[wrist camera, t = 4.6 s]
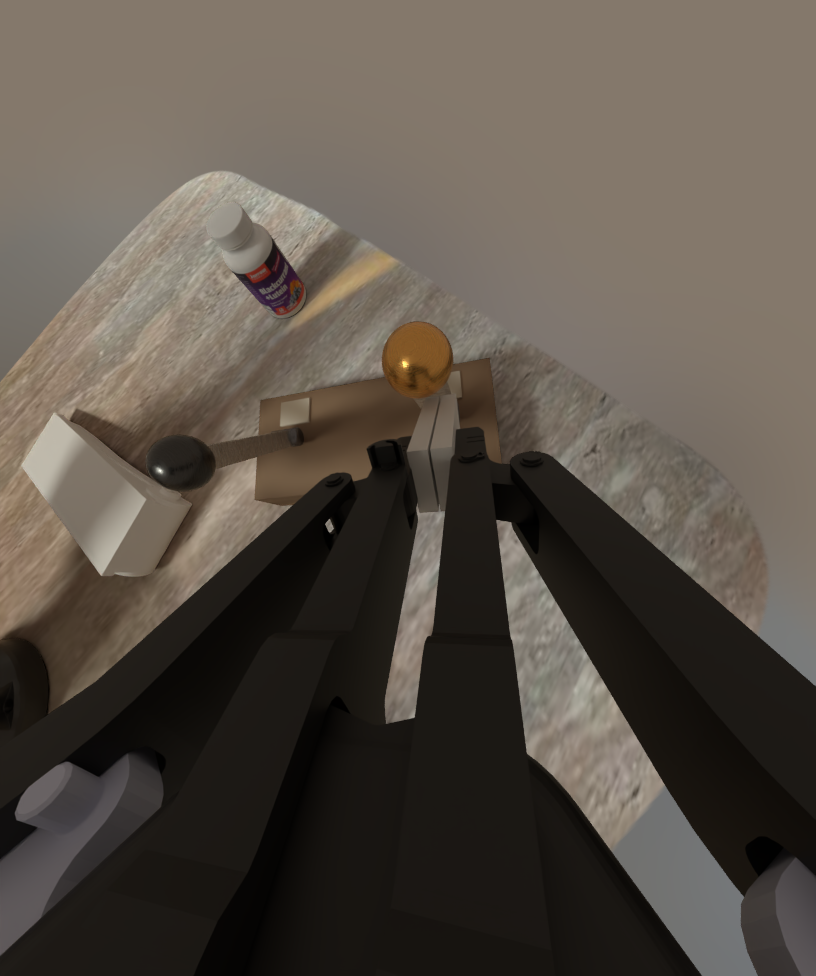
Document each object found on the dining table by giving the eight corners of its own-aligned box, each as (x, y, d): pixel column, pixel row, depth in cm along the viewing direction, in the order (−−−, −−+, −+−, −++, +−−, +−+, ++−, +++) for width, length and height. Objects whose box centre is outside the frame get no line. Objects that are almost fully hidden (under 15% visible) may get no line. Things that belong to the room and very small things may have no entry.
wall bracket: (93, 479, 48) (182, 573, 36) (19, 477, 42) (97, 591, 30) (106, 418, 46) (204, 495, 34) (31, 405, 40) (119, 496, 28)
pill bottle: (287, 327, 37) (220, 252, 27) (261, 308, 38) (189, 231, 29) (316, 292, 37) (259, 205, 27) (289, 274, 38) (226, 186, 29)
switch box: (500, 485, 27) (503, 474, 23) (282, 505, 32) (253, 499, 28) (489, 382, 29) (489, 356, 25) (285, 417, 34) (259, 399, 30)
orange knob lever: (466, 434, 24) (453, 378, 12) (427, 439, 25) (375, 392, 13) (462, 394, 24) (445, 297, 12) (423, 400, 25) (368, 315, 13)
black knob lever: (311, 452, 28) (190, 496, 16) (281, 456, 29) (143, 501, 17) (303, 416, 27) (168, 434, 15) (271, 421, 28) (119, 443, 16)
